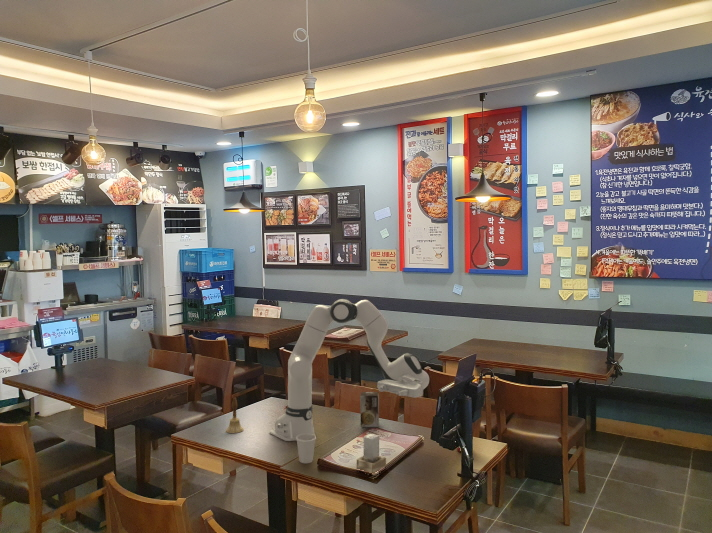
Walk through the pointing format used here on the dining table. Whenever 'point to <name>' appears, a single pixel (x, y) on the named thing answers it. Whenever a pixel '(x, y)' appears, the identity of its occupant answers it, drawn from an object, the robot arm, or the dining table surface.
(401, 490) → the dining table surface
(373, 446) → the peg
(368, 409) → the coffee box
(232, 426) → the hand bell
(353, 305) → the robot arm
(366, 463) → the box
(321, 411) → the dining table surface
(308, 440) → the dixie cup
